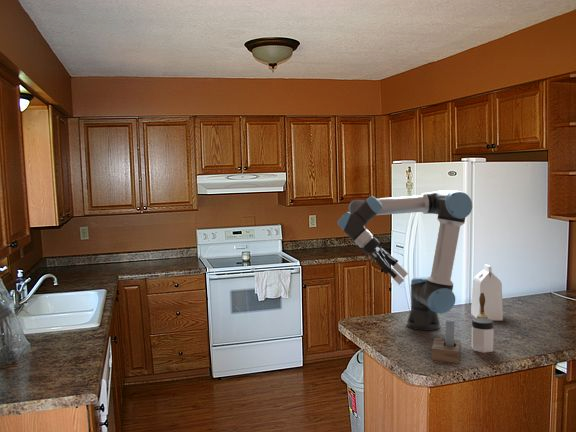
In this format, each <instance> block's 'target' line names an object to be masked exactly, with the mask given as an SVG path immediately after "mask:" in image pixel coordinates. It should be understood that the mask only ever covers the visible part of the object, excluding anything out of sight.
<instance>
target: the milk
mask: <svg viewBox="0 0 576 432" xmlns="http://www.w3.org/2000/svg"><path fill="white" fill-rule="evenodd" d="M492 271H493V270H492V266H491V265H490V264H488V263H487V264H486V263H485V264H483V268H482V270H481V271H479V272H478V273H477V274H476V275H475V276H474V277H473V279H472V290H471V291H472V292H471V293H472V294H471V307H470V308H471V309H470V314H471V315H472V317H474V318H477V315H479V314H480V311H481V310H480V308H481V306H480V302H479V298H480V295H481V293H484V296H485V305H484V314H485V315H487V318H488V319H490V320H492V321H504V313H503V312H504V311H503V285H502V284H503V283H502V281H501V280H500V279H499V278H498V277H497V276H496V275H495V274H494V273H493V272H492Z"/></svg>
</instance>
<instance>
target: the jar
mask: <svg viewBox="0 0 576 432" xmlns="http://www.w3.org/2000/svg"><path fill="white" fill-rule="evenodd" d="M470 344H471V350H472V351H474V352H479V353H493V352H494V320H490V319H486V318H475V317H474V318H472V320H471V343H470Z"/></svg>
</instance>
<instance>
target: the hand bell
mask: <svg viewBox="0 0 576 432" xmlns="http://www.w3.org/2000/svg"><path fill="white" fill-rule="evenodd" d="M479 302H480V306H481V308H480V310H481V311H480V314H479V315H477V318H486V319H488V318H487V315H485V314H484V305H485V296H484V293H481V295H480V298H479Z"/></svg>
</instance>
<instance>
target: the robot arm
mask: <svg viewBox="0 0 576 432" xmlns="http://www.w3.org/2000/svg"><path fill="white" fill-rule="evenodd" d="M472 210H473V201H472V199H471V197H470V196H469V195H468V194H467V193H466V192H464V191H461V190H460V191H459V190H454V189H453V190H450V189H443V190H437V191H430V192H423V193H421V195H410V196H409V195H408V196H397V197H381V198H376V197H375V196H373V195H370V196H369V197H367V198H366V199H354V200H352V201H350V203H349V204H348V211H346V212H345V213H344V214H342V215H341V217H340V218H339V219H338V220H337V225H338V227H340V229H341V230H342V231H343V232H344V233H345V234H346V235H347V236H348V237H349V238H350V239H351V240H352V241H353V242H354V243H355V246H358V247H359V248H362V249H361V250H362V251H363V253H365V254H366V255H367V256H368V255H370V256H371V257H372V258H373V259H374V260H375V262H376V263H377V264H378V265H379V267H380V268H381V269H382V271H383V272H384V274H385V275H387V274H388V275H389V276H390V277H391V278H392V279H393V280H394V281H395V282H396V283H397V284H398V285H399V286H400V285H401V284H402V283H403V282H404V281H405V279H404V278H405V277H406V276H408V274H409V273H408V272H407V271H406V270H405V268H403V267H402V266H401V265H400V264H399V263H398V262H399V260H398V259H396V258H395V257H394V256H392V255H391V254H390V253H388V252H387V250H385V249H384V248H382V246H379V245H380V244H381V241H379V240H378V239H377V238H376V237H374V235H373V234H372V233H371V231H369V229H368V228H366V227H365V226H367V224H368V223H369V222H371V220H372V219H373V218H375V216H382V215H385V216H386V215H397V214H399V215H400V214H411V213H422V214H423V215H425V214H426V215H427V214H429V215H430V214H431V215H432V214H433V215H437V220H438V222H439V227H438V233H437V240H436V245H435V249H434V250H435V251H434V255H433V263H432V268H431V273H430V276H429V277H427V276H425V277H424V276H423V277H421V276H419V277H413V278H412V279H411V281H410V310H409V314H408V316H407V320H406V323H407V324H406V326H407V327H409V328H411V329H414V330H418V331H434V330H438V329H440V328H441V321H440V318H439V314H442V315H443V314H445V313H448V312H450V311H451V310H452V309H453V308H454V306H455V304H456V295H455V293H454V292H453V289H454V283H453V281H452V274H453V269H454V265H455V264H454V263H455V259H456V258H455V257H456V251H457V248H458V247H457V246H458V242H459V234H460V229H461V226H464V224H465V222H466V219H467V217H468V216H469V215H470V214H471V213H472ZM391 266H392V267H391Z"/></svg>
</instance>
